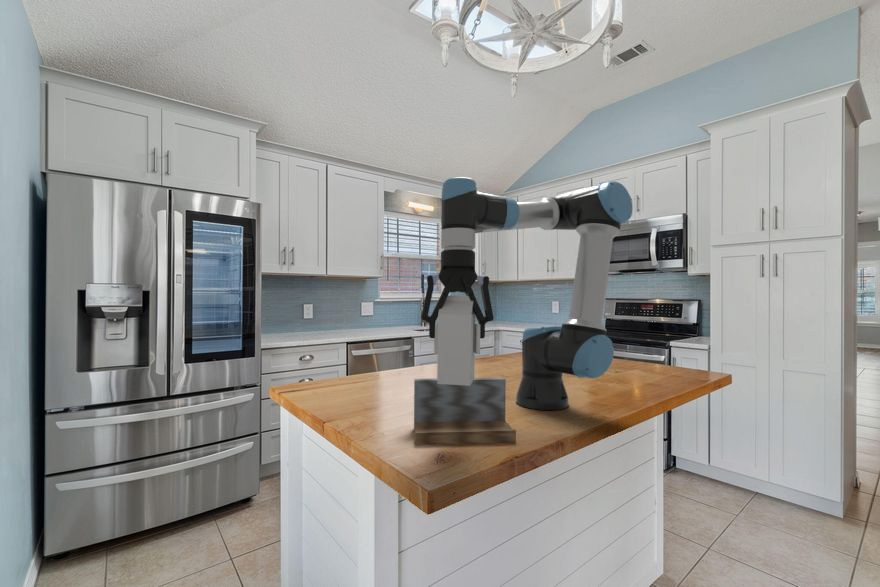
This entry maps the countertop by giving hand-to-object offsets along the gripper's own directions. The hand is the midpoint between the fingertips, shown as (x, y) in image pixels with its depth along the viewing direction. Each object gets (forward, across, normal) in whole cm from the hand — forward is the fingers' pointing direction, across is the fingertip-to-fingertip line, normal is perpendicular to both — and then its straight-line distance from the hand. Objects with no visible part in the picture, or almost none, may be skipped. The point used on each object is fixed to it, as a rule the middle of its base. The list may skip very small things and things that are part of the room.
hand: (456, 353), depth 90 cm
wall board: (+20, -2, -5) cm, 20 cm away
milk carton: (+7, 0, 0) cm, 7 cm away
